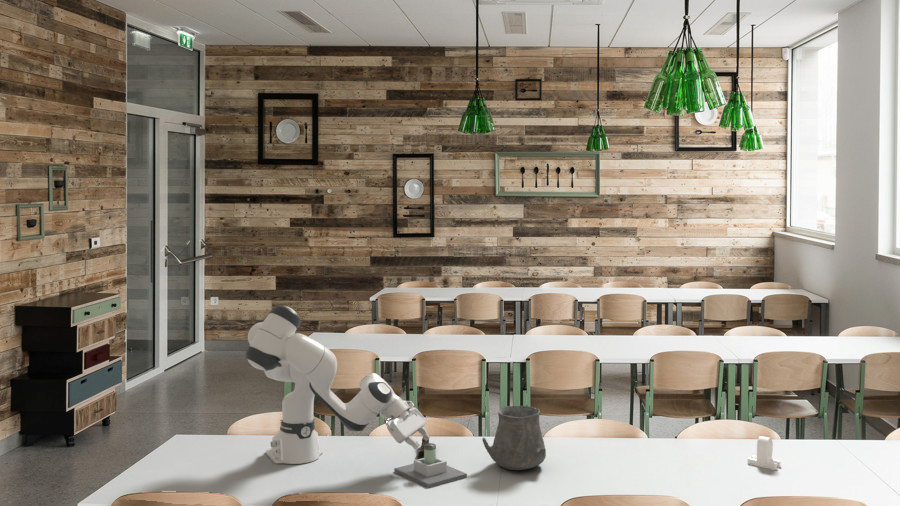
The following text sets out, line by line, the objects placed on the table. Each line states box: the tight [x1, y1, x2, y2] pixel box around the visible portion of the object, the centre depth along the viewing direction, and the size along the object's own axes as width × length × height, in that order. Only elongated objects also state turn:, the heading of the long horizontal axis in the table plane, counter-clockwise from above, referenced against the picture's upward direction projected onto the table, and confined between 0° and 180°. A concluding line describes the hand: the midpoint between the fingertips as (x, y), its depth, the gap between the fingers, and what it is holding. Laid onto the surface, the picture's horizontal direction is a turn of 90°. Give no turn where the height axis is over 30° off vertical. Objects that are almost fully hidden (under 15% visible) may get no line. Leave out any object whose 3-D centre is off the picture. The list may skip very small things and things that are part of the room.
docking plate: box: [393, 456, 468, 489], centre depth 277 cm, size 20×16×5 cm
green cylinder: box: [424, 442, 437, 465], centre depth 277 cm, size 4×4×9 cm
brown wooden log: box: [417, 437, 430, 459], centre depth 301 cm, size 19×4×5 cm, turn 176°
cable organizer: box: [747, 435, 781, 471], centre depth 285 cm, size 5×10×10 cm, turn 47°
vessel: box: [482, 405, 547, 471], centre depth 286 cm, size 22×22×20 cm
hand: (422, 443), depth 279 cm, fingers open, 8 cm apart
